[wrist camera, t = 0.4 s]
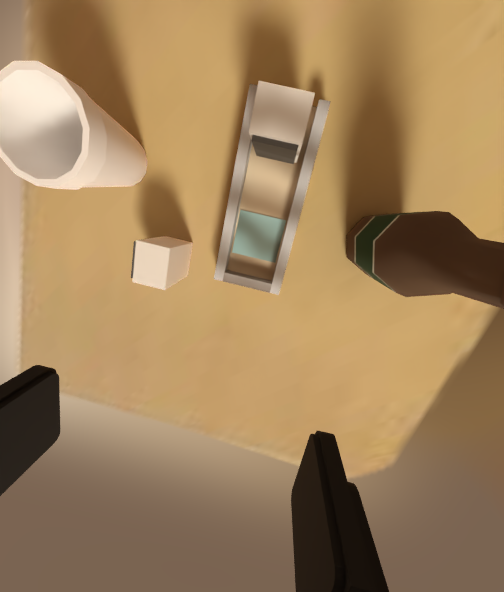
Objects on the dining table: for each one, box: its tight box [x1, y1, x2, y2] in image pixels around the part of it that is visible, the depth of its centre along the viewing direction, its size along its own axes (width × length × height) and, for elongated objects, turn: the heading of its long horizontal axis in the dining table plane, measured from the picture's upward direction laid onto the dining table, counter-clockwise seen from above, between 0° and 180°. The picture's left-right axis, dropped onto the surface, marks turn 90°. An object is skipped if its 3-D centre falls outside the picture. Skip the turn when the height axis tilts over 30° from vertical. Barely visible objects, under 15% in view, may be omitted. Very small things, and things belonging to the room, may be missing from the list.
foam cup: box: [0, 61, 147, 190], centre depth 28 cm, size 10×9×13 cm
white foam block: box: [131, 236, 193, 290], centre depth 33 cm, size 4×5×8 cm
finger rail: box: [214, 81, 330, 295], centre depth 29 cm, size 22×9×10 cm, turn 167°
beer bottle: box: [347, 211, 504, 309], centre depth 23 cm, size 8×8×24 cm
